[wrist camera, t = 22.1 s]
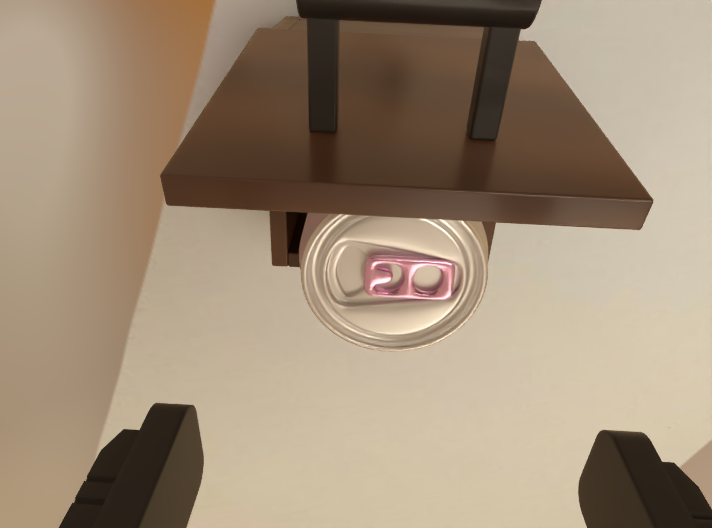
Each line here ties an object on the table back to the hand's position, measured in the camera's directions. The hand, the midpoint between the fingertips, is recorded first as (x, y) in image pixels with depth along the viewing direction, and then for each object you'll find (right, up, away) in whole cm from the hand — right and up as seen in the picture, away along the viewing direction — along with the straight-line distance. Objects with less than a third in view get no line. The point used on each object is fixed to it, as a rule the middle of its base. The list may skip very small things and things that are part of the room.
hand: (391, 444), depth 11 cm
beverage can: (+1, +11, +18) cm, 21 cm away
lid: (+1, +8, +6) cm, 10 cm away
